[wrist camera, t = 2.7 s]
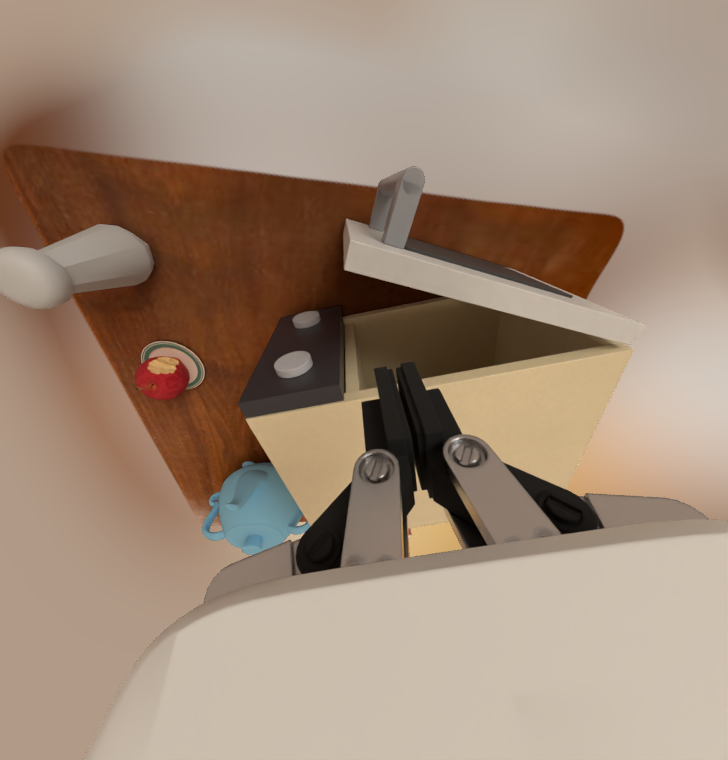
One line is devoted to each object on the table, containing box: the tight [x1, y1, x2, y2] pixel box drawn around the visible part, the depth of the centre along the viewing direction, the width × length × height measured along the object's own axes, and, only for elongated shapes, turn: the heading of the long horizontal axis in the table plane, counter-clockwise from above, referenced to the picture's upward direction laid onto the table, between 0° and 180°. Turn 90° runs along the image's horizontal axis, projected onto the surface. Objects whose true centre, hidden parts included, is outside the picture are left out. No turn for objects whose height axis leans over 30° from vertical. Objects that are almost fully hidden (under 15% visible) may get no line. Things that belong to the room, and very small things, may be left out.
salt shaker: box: [0, 224, 154, 309], centre depth 24 cm, size 6×6×13 cm
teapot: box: [202, 462, 310, 555], centre depth 47 cm, size 16×20×14 cm
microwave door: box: [343, 166, 647, 345], centre depth 23 cm, size 6×22×18 cm, turn 75°
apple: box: [135, 341, 205, 400], centre depth 35 cm, size 8×8×6 cm
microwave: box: [238, 297, 634, 529], centre depth 33 cm, size 24×30×18 cm
